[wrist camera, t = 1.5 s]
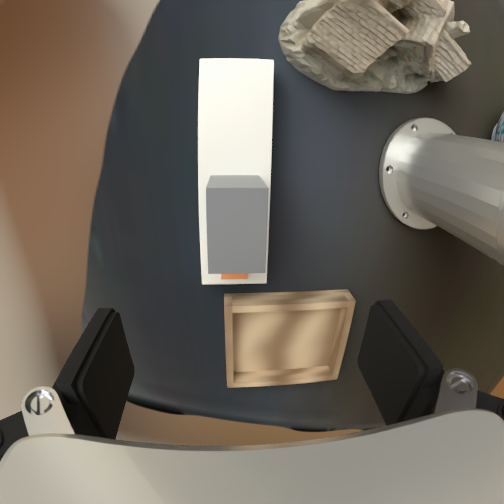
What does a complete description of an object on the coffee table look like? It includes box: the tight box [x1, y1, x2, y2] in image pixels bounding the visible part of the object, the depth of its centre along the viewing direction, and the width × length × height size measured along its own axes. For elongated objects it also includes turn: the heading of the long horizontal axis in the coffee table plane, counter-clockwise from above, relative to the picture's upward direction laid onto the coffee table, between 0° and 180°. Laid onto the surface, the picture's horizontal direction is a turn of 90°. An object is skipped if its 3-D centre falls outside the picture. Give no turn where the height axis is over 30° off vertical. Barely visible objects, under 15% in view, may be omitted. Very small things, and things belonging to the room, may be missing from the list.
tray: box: [224, 289, 356, 388], centre depth 34 cm, size 14×12×3 cm
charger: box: [206, 175, 269, 274], centre depth 24 cm, size 4×6×8 cm, turn 179°
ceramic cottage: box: [279, 0, 471, 94], centre depth 18 cm, size 16×16×15 cm
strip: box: [198, 58, 274, 284], centre depth 26 cm, size 6×20×4 cm, turn 179°
